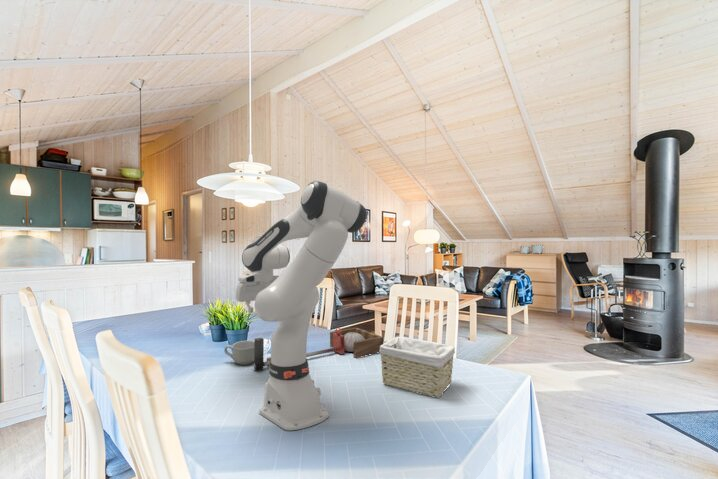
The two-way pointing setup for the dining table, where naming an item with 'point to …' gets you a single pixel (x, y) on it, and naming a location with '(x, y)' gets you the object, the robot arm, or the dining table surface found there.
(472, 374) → the dining table surface
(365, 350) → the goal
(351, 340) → the sea urchin shell
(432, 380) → the storage basket
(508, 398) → the dining table surface
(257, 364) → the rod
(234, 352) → the teacup
